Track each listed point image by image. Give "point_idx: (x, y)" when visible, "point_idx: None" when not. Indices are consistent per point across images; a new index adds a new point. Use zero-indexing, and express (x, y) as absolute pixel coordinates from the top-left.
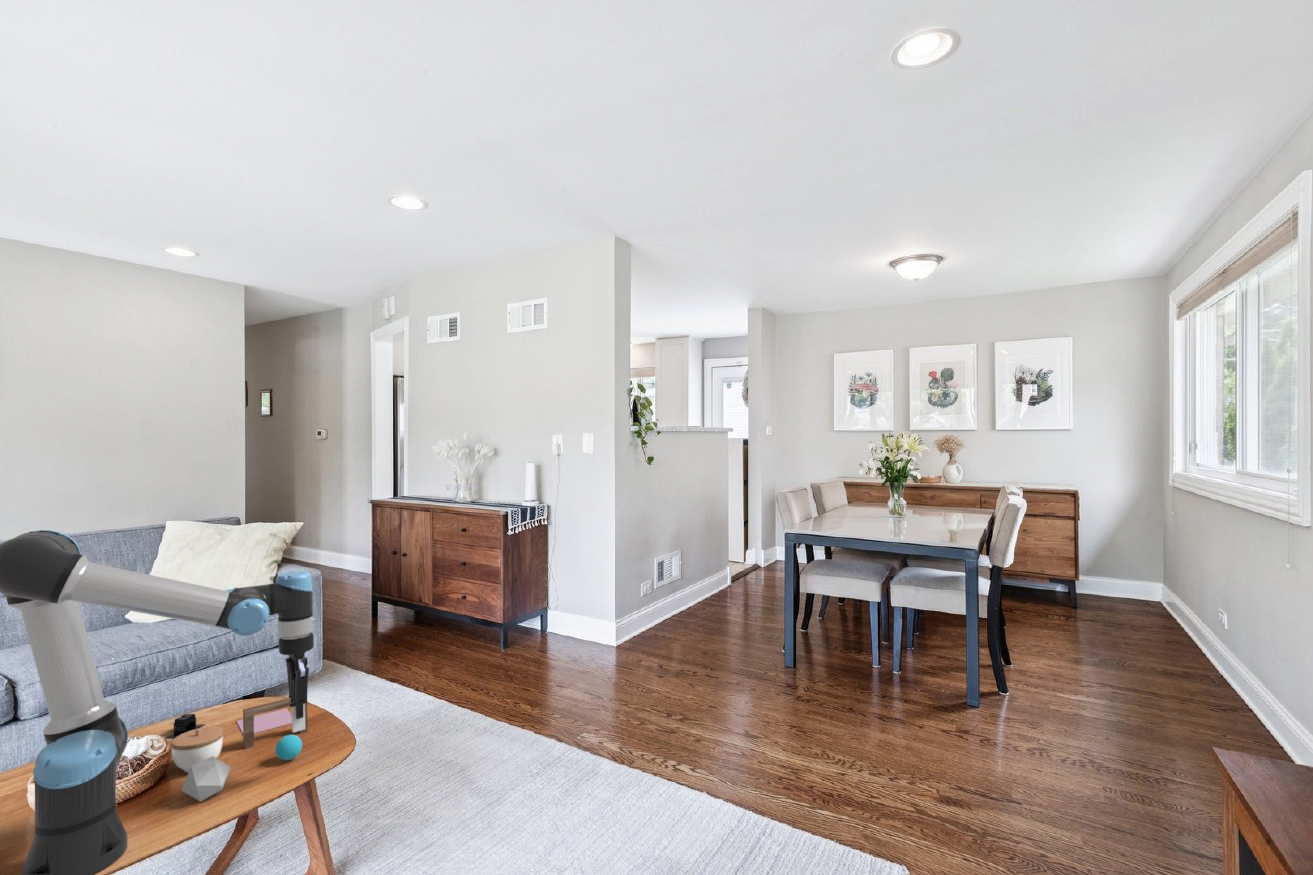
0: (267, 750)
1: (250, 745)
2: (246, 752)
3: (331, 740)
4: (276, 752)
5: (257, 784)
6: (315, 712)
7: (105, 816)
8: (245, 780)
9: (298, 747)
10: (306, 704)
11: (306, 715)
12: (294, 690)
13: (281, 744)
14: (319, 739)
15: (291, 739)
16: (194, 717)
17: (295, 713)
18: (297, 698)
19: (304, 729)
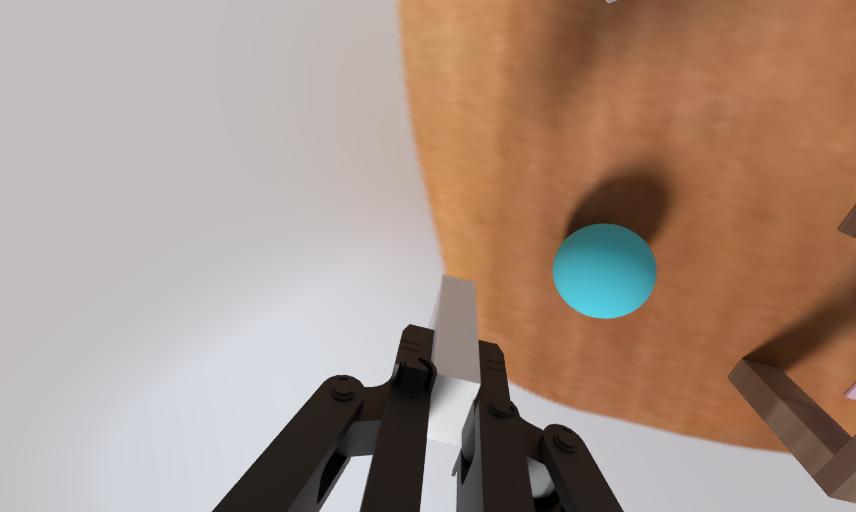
0: (741, 242)
1: (852, 221)
2: (820, 190)
3: (578, 378)
4: (609, 225)
5: (504, 96)
6: None
7: None
8: (581, 80)
9: (556, 286)
10: (803, 462)
11: (769, 421)
12: (363, 503)
13: (602, 250)
14: (625, 366)
15: (586, 288)
16: None
17: (432, 346)
18: (288, 431)
19: (739, 377)
